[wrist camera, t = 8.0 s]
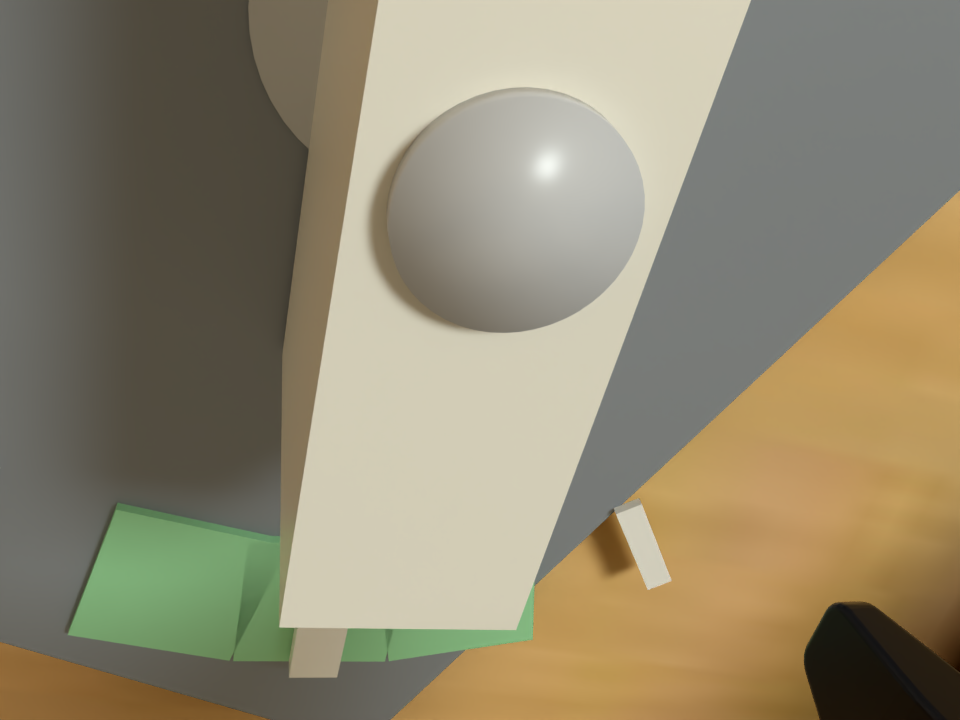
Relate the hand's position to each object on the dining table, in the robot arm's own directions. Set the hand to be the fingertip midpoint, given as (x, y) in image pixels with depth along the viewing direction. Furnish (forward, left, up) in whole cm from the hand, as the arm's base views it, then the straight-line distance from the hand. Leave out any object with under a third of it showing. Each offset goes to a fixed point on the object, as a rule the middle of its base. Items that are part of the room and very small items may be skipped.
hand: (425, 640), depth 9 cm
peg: (+1, -1, -6) cm, 6 cm away
